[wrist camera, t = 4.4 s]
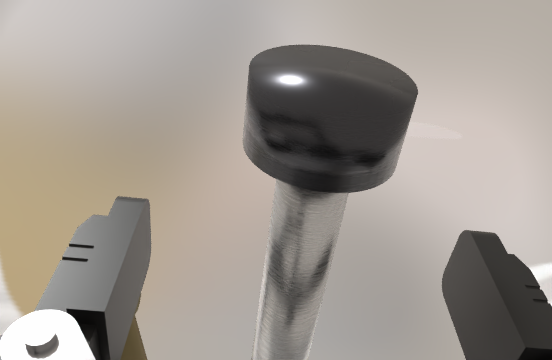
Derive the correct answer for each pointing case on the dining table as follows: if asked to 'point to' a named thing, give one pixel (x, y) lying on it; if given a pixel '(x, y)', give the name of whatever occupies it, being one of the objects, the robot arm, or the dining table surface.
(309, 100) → the plunger
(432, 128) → the dining table surface
